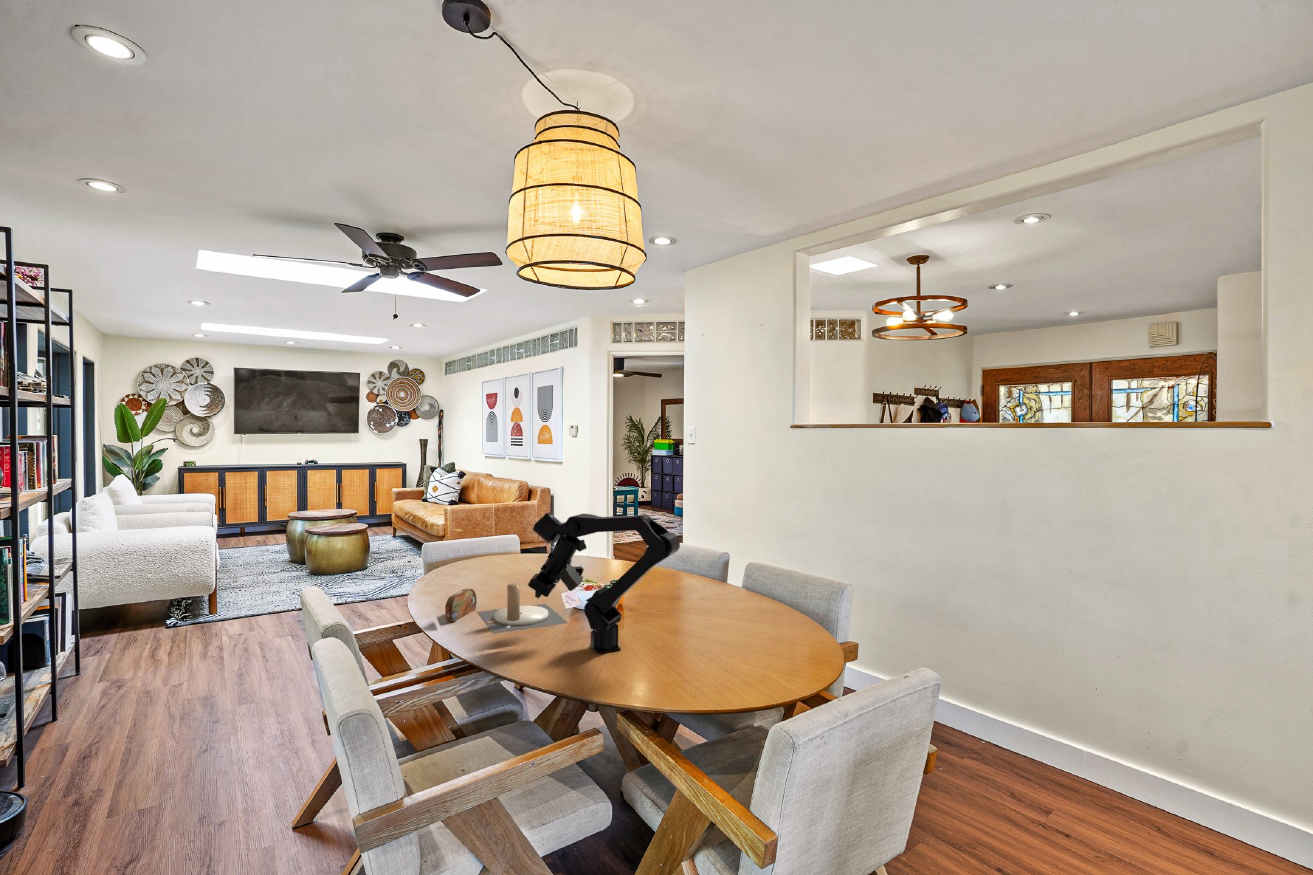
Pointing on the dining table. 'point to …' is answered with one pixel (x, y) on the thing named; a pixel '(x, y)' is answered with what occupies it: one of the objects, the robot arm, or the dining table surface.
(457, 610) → the tin
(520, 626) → the dial plate
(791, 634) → the dining table surface
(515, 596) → the dial
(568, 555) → the robot arm
